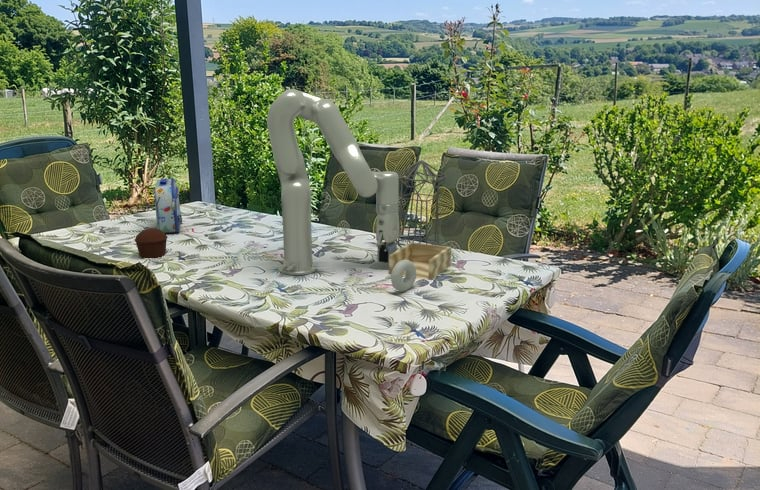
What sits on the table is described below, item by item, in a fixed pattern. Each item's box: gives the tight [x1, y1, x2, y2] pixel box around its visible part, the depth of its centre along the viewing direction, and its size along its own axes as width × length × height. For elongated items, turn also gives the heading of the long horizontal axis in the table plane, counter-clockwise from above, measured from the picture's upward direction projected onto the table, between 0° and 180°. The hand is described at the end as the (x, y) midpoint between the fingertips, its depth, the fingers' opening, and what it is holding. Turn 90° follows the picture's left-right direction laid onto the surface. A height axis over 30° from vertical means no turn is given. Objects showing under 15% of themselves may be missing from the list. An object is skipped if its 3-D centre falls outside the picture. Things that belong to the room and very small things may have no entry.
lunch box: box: [154, 178, 183, 234], centre depth 282 cm, size 28×10×22 cm, turn 17°
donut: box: [390, 260, 417, 292], centre depth 206 cm, size 10×4×10 cm, turn 135°
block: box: [376, 243, 398, 263], centre depth 230 cm, size 5×5×6 cm
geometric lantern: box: [395, 160, 448, 249], centre depth 243 cm, size 16×16×35 cm
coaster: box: [369, 262, 389, 271], centre depth 231 cm, size 9×9×1 cm
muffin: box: [134, 227, 169, 259], centre depth 244 cm, size 12×11×10 cm
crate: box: [388, 241, 452, 281], centre depth 227 cm, size 19×15×7 cm
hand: (386, 259), depth 231 cm, fingers closed on block, 4 cm apart
